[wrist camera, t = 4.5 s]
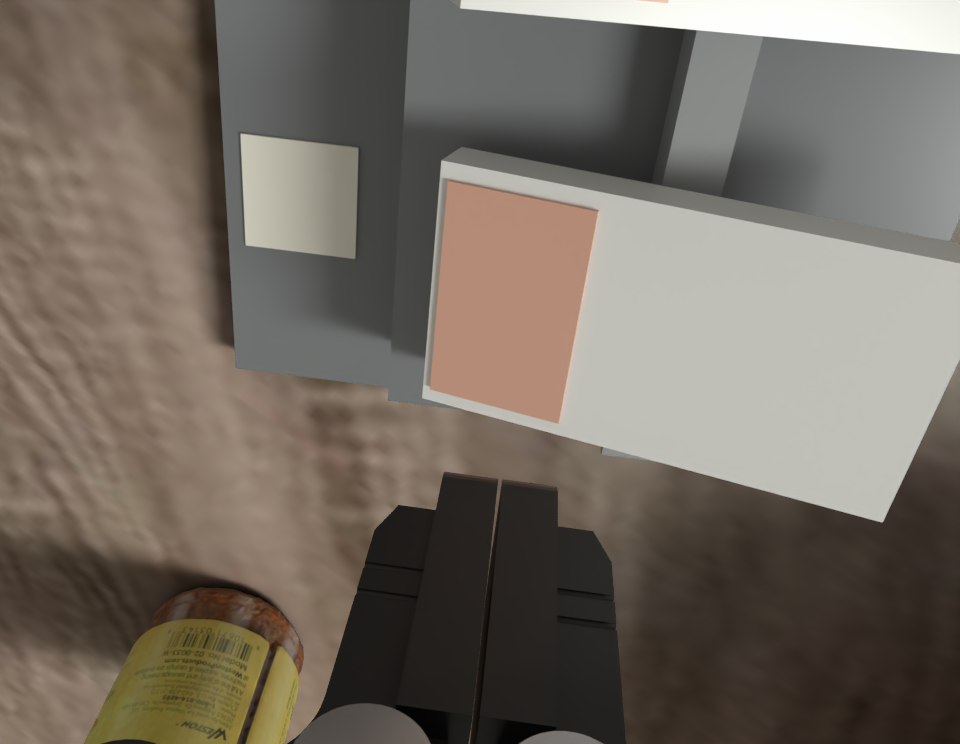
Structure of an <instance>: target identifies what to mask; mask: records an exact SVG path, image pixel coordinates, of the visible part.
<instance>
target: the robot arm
mask: <svg viewBox="0 0 960 744" xmlns="http://www.w3.org/2000/svg"><path fill="white" fill-rule="evenodd" d="M497 485H498V479H494V478H487V477H479V476H472V475H465V474H457V473H450V472H444V474H443V479H442V483H441V488H440V493H439V498H438V503H437V508H436V510H431V509H423V508H416V507H409V506H401V505H398V506H397V507H396V508H395V510H394V511H393V512H392V513H391V514H390V515H389V516H388V517H387V518H386V519H385V520H384V521H383V522H382V523H381V524H380V525H379V526H378V527H377V528H376V529H375V531H374V534H373V537H372V541H371V544H370V548H369V551H368V554H367V558H366V561H365V567H364V568H363V571H362V574H361V578H360V581H359V584H358V588H357V594H356V595H355V598H354V601H353V605H352V608H351V611H350V615H349V618H348V621H347V625H346V628H345V631H344V635H343V638H342V641H341V645H340V648H339V651H338V655H337V658H336V662H335V665H334V668H333V672H332V675H331V678H330V682H329V685H328V688H327V692H326V695H325V698H324V700H323V703H322V705H321V708H320V709H319V711H318V713H317V714H316V716H315V718H314V719H313V720H312V722H311V723H310V724H309V725H308V726H307V727H306V728H305V729H304V730H303V731H302V732H301V733H300V734H299V735H298V736H297V737H296V738H295V739H293V740H292V741H291V742H289V743H288V744H468V742H469V736H470V729H471V737H470V744H626V739H625V728H624V715H623V703H622V690H621V678H620V665H619V652H618V640H617V631H616V614H615V602H613V599H614V589H613V576H612V564H611V561H610V559H609V557H608V556H607V554H606V552H605V551H604V549H603V547H602V546H601V544H600V542H599V541H598V539H597V537H596V536H595V534H594V532H593V531H587V530H579V529H572V528H565V527H558V491H557V487H555V486H548V485H540V484H533V483H526V482H518V481H511V480H503V481H502V486H501V493H500V500H499V507H498V513H497V520H496V527H495V534H494V541H493V547H492V554H491V561H490V568H489V559H490V550H491V541H492V531H493V522H494V513H495V504H496V494H497ZM488 568H489V575H488ZM487 578H488V583H487ZM486 587H487V591H486ZM485 596H486V599H485ZM484 605H485V607H484ZM483 615H484V617H483ZM482 624H483V626H482ZM481 633H482V635H481ZM480 642H481V644H480ZM479 651H480V654H479ZM478 661H479V663H478ZM477 670H478V672H477ZM476 679H477V681H476ZM475 688H476V691H475ZM474 698H475V700H474ZM473 707H474V709H473ZM472 716H473V719H472ZM471 723H472V728H471ZM102 744H156V743H153V742H149V741H144V740H137V739H123V740H115V741H109V742H106V743H102Z"/></svg>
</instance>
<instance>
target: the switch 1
mask: <svg viewBox="0 0 960 744" xmlns="http://www.w3.org/2000/svg"><path fill="white" fill-rule="evenodd" d="M450 1H452V2H453V3H454V4H455V5H457V6H458V7H459V8H462V9H473V10H484V11H495V12H505V13H516V14H527V15H538V16H549V17H560V18H571V19H582V20H592V21H603V22H614V23H625V24H636V25H647V26H658V27H669V28H679V29H690V30H701V31H712V32H723V33H734V34H745V35H755V36H766V37H777V38H788V39H799V40H810V41H821V42H832V43H842V44H853V45H864V46H875V47H886V48H897V49H908V50H919V51H929V52H940V53H951V54H960V0H450Z"/></svg>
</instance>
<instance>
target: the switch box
mask: <svg viewBox="0 0 960 744" xmlns="http://www.w3.org/2000/svg"><path fill="white" fill-rule="evenodd" d="M215 15H216V33H217V50H218V67H219V85H220V102H221V120H222V137H223V154H224V172H225V189H226V206H227V224H228V241H229V258H230V276H231V293H232V310H233V328H234V345H235V362H236V368H238V369H246V370H254V371H262V372H270V373H278V374H286V375H294V376H302V377H310V378H318V379H326V380H334V381H342V382H350V383H358V384H366V385H373V386H381V387H389V393H388V400H389V401H397V402H405V403H413V404H421V405H429V406H437V407H445V408H453V409H460V408H457V407H453V406H449V405H446V404H442V403H438V402H434V401H431V400H427V399H423V398H422V393H423V381H424V369H425V356H426V344H427V332H428V319H429V307H430V295H431V282H432V270H433V258H434V245H435V233H436V221H437V208H438V196H439V184H440V171H441V160H443V159H444V158H446V157H447V156H449V155H450V154H452V153H453V152H455V151H456V150H458V149H459V148H461V147H465V148H470V149H475V150H481V151H486V152H491V153H496V154H501V155H506V156H512V157H517V158H522V159H527V160H532V161H537V162H542V163H548V164H553V165H558V166H563V167H568V168H573V169H579V170H584V171H589V172H594V173H599V174H604V175H609V176H615V177H620V178H625V179H630V180H635V181H640V182H646V183H651V184H656V185H661V186H666V187H671V188H676V189H682V190H687V191H692V192H697V193H702V194H707V195H713V196H718V197H723V198H728V199H733V200H738V201H743V202H749V203H754V204H759V205H764V206H769V207H774V208H780V209H785V210H790V211H795V212H800V213H805V214H810V215H816V216H821V217H826V218H831V219H836V220H841V221H847V222H852V223H857V224H862V225H867V226H872V227H877V228H883V229H888V230H893V231H898V232H903V233H908V234H914V235H919V236H924V237H929V238H934V239H939V240H944V241H950V239H951V237H952V234H953V232H954V230H955V227H956V225H957V223H958V220H959V218H960V54H951V53H940V52H929V51H919V50H908V49H897V48H886V47H875V46H864V45H853V44H842V43H832V42H821V41H810V40H799V39H788V38H777V37H766V36H755V35H745V34H734V33H723V32H712V31H701V30H690V29H679V28H669V27H658V26H647V25H636V24H625V23H614V22H603V21H592V20H582V19H571V18H560V17H549V16H538V15H527V14H516V13H505V12H495V11H484V10H473V9H462V8H459V7H458V6H457V5H455V4H454V3H453V2H452V1H450V0H215ZM461 410H464V409H461ZM601 455H609V456H616V457H624V458H632V459H640V460H648V461H651V460H649V459H645V458H642V457H638V456H634V455H630V454H627V453H623V452H619V451H616V450H612V449H608V448H605V447H601Z"/></svg>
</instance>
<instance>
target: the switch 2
mask: <svg viewBox="0 0 960 744" xmlns="http://www.w3.org/2000/svg"><path fill="white" fill-rule="evenodd" d="M959 359H960V243H955V242H950V241H944V240H939V239H934V238H929V237H924V236H919V235H914V234H908V233H903V232H898V231H893V230H888V229H883V228H877V227H872V226H867V225H862V224H857V223H852V222H847V221H841V220H836V219H831V218H826V217H821V216H816V215H810V214H805V213H800V212H795V211H790V210H785V209H780V208H774V207H769V206H764V205H759V204H754V203H749V202H743V201H738V200H733V199H728V198H723V197H718V196H713V195H707V194H702V193H697V192H692V191H687V190H682V189H676V188H671V187H666V186H661V185H656V184H651V183H646V182H640V181H635V180H630V179H625V178H620V177H615V176H609V175H604V174H599V173H594V172H589V171H584V170H579V169H573V168H568V167H563V166H558V165H553V164H548V163H542V162H537V161H532V160H527V159H522V158H517V157H512V156H506V155H501V154H496V153H491V152H486V151H481V150H475V149H470V148H465V147H461V148H459V149H458V150H456V151H455V152H453V153H452V154H450V155H449V156H447V157H446V158H444V159H443V160H441V171H440V184H439V196H438V208H437V221H436V233H435V245H434V258H433V270H432V282H431V295H430V307H429V319H428V332H427V344H426V356H425V369H424V381H423V393H422V398H423V399H427V400H431V401H434V402H438V403H442V404H446V405H449V406H453V407H457V408H460V409H464V410H468V411H471V412H475V413H479V414H483V415H486V416H490V417H494V418H497V419H501V420H505V421H508V422H512V423H516V424H520V425H523V426H527V427H531V428H534V429H538V430H542V431H545V432H549V433H553V434H556V435H560V436H564V437H568V438H571V439H575V440H579V441H582V442H586V443H590V444H593V445H597V446H601V447H605V448H608V449H612V450H616V451H619V452H623V453H627V454H630V455H634V456H638V457H642V458H645V459H649V460H653V461H656V462H660V463H664V464H667V465H671V466H675V467H678V468H682V469H686V470H690V471H693V472H697V473H701V474H704V475H708V476H712V477H715V478H719V479H723V480H727V481H730V482H734V483H738V484H741V485H745V486H749V487H752V488H756V489H760V490H764V491H767V492H771V493H775V494H778V495H782V496H786V497H789V498H793V499H797V500H800V501H804V502H808V503H812V504H815V505H819V506H823V507H826V508H830V509H834V510H837V511H841V512H845V513H849V514H852V515H856V516H860V517H863V518H867V519H871V520H874V521H878V522H882V523H883V521H884V519H885V517H886V515H887V512H888V510H889V508H890V506H891V504H892V502H893V500H894V498H895V495H896V493H897V491H898V489H899V487H900V485H901V483H902V481H903V478H904V476H905V474H906V472H907V470H908V468H909V466H910V464H911V461H912V459H913V457H914V455H915V453H916V451H917V449H918V447H919V444H920V442H921V440H922V438H923V436H924V434H925V432H926V430H927V427H928V425H929V423H930V421H931V419H932V417H933V415H934V413H935V410H936V408H937V406H938V404H939V402H940V400H941V398H942V396H943V393H944V391H945V389H946V387H947V385H948V383H949V381H950V379H951V376H952V374H953V372H954V370H955V368H956V366H957V364H958V362H959Z"/></svg>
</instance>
